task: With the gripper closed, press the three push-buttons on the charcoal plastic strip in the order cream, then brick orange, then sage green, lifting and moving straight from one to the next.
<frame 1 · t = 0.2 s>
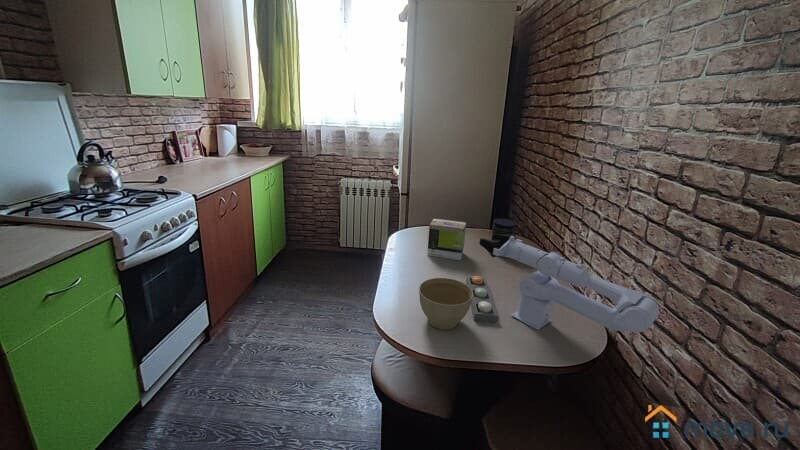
hand: (487, 238, 122), 21 cm above the table, tool horizontal, fingers open, 7 cm apart
planter bowl: (442, 321, 112), on the table
tea box: (445, 254, 161), on the table
button panel: (479, 300, 124), on the table
cream button: (484, 307, 115), point 3 cm above the table, slide at 0.0 cm
sage button: (480, 293, 124), point 3 cm above the table, slide at 0.0 cm
orange button: (477, 280, 132), point 3 cm above the table, slide at 0.0 cm
storage jar: (499, 252, 166), on the table
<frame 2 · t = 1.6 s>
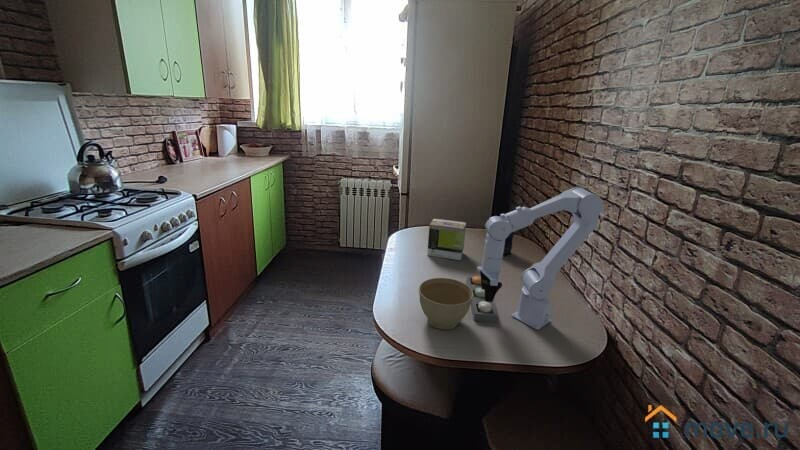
hand: (486, 295, 114), 7 cm above the table, tool pointing down, fingers open, 7 cm apart
nothing on the table moved.
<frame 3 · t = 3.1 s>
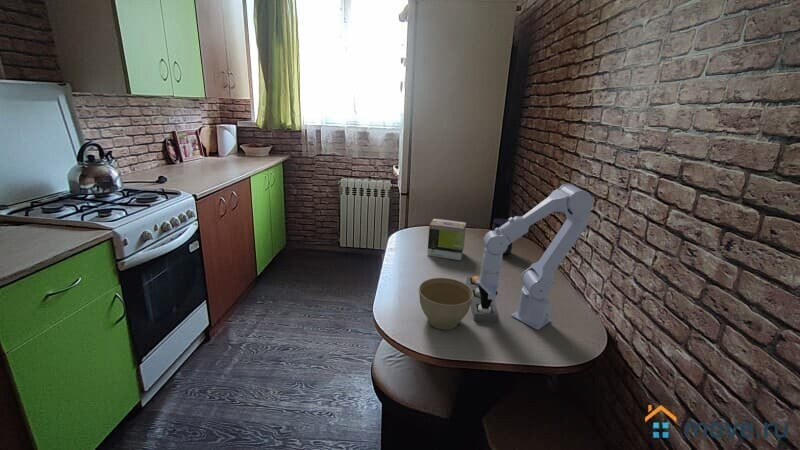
hand: (484, 307, 115), 3 cm above the table, tool pointing down, fingers closed, pressing on cream button
cream button: (484, 310, 115), point 2 cm above the table, slide at 1.0 cm, touching gripper
everything else where it was.
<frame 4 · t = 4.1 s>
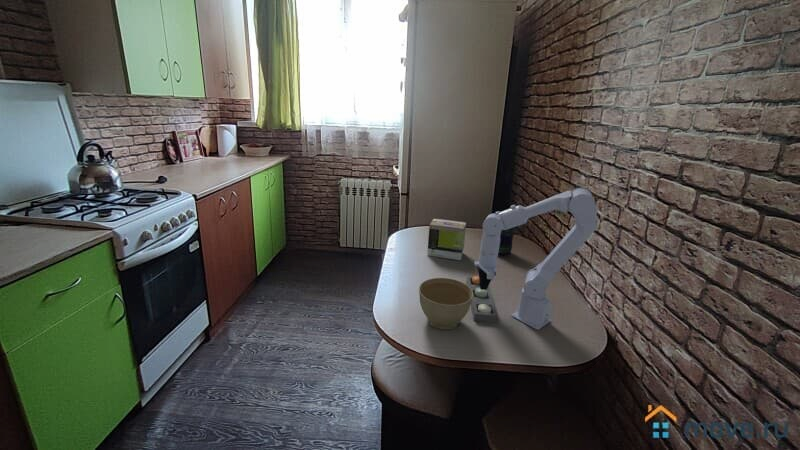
hand: (483, 288, 119), 6 cm above the table, tool pointing down, fingers closed
cream button: (484, 310, 115), point 2 cm above the table, slide at 1.0 cm
everything else where it was.
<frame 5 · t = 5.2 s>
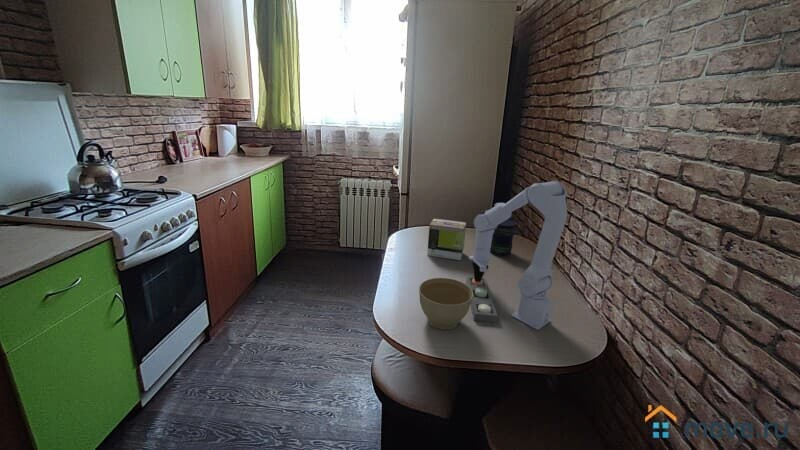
hand: (477, 280, 132), 3 cm above the table, tool pointing down, fingers closed, pressing on orange button
orange button: (477, 283, 132), point 2 cm above the table, slide at 0.9 cm, touching gripper
everything else where it was.
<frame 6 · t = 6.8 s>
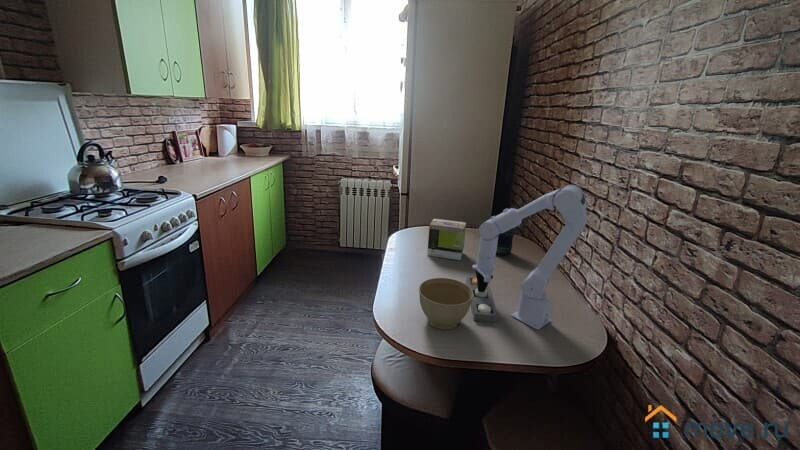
hand: (481, 291, 123), 4 cm above the table, tool pointing down, fingers closed, pressing on sage button
sage button: (480, 293, 124), point 3 cm above the table, slide at 0.2 cm, touching gripper
orange button: (477, 283, 132), point 2 cm above the table, slide at 1.0 cm
everything else where it was.
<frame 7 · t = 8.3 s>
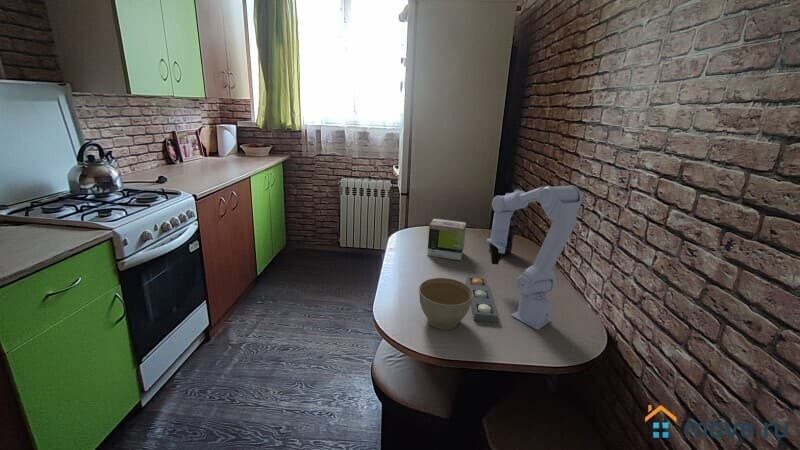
hand: (494, 263, 132), 9 cm above the table, tool pointing down, fingers closed
sage button: (480, 295, 124), point 2 cm above the table, slide at 1.0 cm
everything else where it was.
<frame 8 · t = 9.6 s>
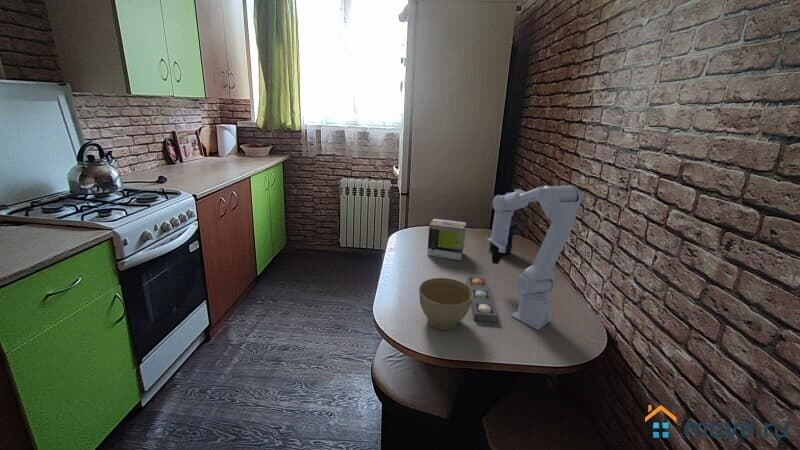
hand: (495, 263, 132), 9 cm above the table, tool pointing down, fingers closed
nothing on the table moved.
at the end: cream button slide at 1.0 cm; orange button slide at 1.0 cm; sage button slide at 1.0 cm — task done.
